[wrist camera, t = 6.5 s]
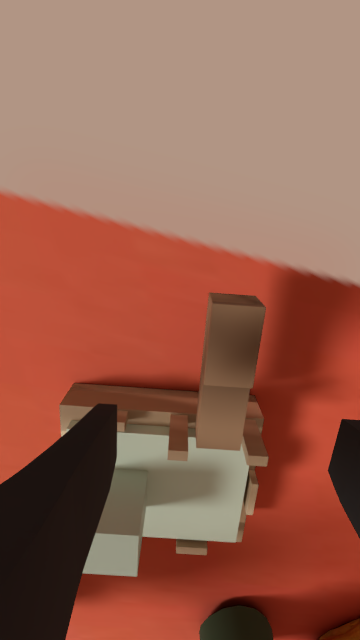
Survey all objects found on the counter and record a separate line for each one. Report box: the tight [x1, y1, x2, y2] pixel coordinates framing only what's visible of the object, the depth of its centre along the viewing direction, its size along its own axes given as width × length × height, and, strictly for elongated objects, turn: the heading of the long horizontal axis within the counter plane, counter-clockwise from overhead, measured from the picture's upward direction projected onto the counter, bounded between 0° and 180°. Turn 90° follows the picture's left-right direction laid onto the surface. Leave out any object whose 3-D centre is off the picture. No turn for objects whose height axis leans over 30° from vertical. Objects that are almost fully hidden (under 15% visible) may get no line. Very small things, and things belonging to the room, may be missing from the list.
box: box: [59, 383, 269, 555], centre depth 19 cm, size 10×12×6 cm
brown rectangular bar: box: [195, 293, 266, 451], centre depth 15 cm, size 8×2×2 cm, turn 176°
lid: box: [66, 420, 249, 577], centre depth 17 cm, size 8×11×5 cm
